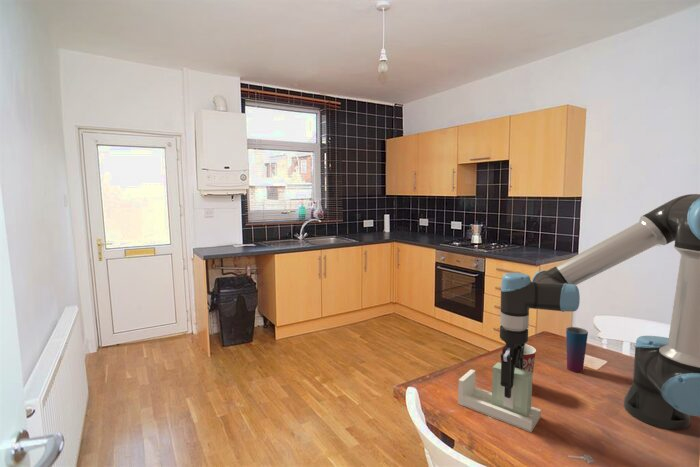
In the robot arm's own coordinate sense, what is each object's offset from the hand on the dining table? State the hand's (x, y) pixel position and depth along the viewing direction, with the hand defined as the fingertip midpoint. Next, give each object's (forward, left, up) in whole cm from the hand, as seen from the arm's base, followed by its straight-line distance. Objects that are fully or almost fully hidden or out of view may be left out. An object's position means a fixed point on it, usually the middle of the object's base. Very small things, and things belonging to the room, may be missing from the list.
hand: (511, 402), depth 111 cm
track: (+3, 0, -4) cm, 5 cm away
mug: (+5, -20, -4) cm, 21 cm away
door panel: (0, 0, -2) cm, 2 cm away
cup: (-8, -44, -4) cm, 45 cm away
